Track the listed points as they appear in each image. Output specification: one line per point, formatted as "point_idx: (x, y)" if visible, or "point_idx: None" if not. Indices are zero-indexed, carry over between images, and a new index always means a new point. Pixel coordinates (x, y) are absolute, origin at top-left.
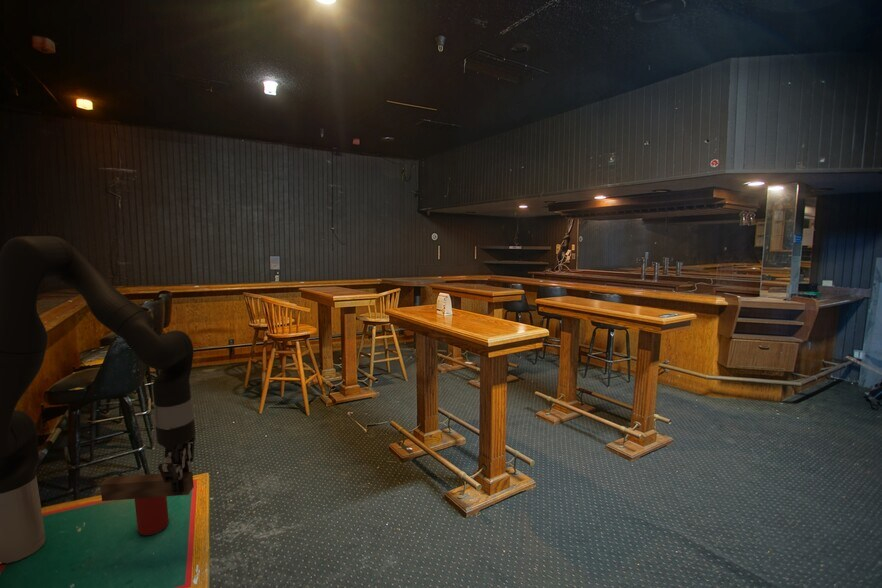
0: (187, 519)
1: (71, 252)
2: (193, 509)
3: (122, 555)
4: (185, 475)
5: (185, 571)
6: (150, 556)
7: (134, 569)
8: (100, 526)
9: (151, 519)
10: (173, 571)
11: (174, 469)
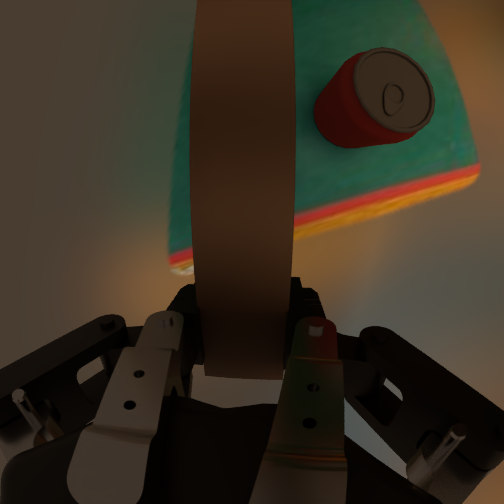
0: (364, 188)
1: None
2: (398, 191)
3: None
4: (242, 361)
5: (189, 247)
6: None
7: None
8: (354, 13)
9: (324, 118)
10: (190, 222)
11: (69, 428)
